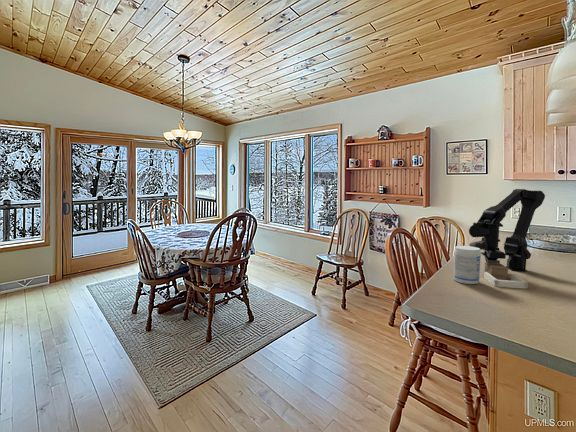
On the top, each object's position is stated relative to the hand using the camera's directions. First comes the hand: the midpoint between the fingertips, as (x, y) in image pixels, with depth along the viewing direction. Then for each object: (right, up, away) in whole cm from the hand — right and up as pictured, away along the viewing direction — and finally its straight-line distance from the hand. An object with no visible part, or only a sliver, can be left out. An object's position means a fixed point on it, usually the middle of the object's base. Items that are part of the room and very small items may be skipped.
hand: (489, 268), depth 140 cm
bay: (-4, -3, -14) cm, 15 cm away
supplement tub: (-19, -3, -13) cm, 23 cm away
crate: (-1, -2, -6) cm, 7 cm away
